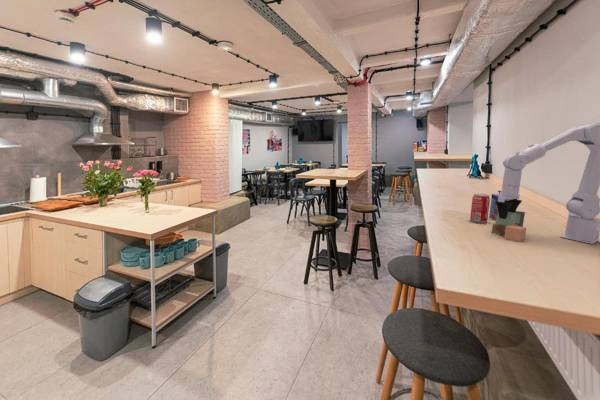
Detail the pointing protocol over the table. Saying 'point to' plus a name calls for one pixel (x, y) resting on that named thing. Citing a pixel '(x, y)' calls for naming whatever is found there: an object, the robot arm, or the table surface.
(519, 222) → the board
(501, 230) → the walnut block
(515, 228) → the terracotta block
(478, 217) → the soda can
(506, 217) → the green block
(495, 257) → the table surface
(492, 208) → the ink cartridge box
